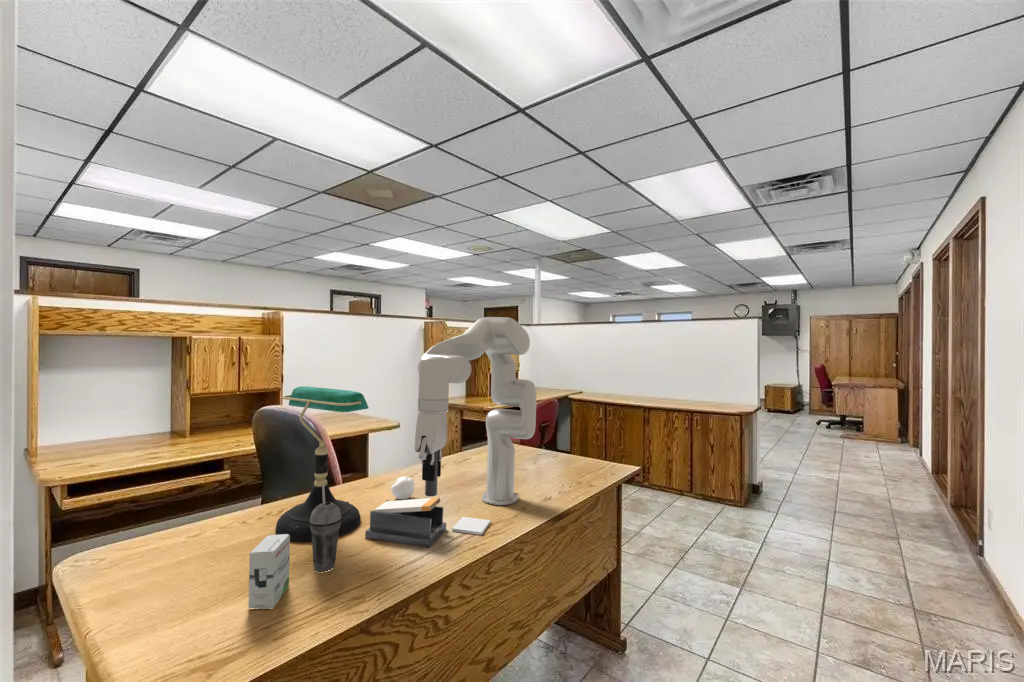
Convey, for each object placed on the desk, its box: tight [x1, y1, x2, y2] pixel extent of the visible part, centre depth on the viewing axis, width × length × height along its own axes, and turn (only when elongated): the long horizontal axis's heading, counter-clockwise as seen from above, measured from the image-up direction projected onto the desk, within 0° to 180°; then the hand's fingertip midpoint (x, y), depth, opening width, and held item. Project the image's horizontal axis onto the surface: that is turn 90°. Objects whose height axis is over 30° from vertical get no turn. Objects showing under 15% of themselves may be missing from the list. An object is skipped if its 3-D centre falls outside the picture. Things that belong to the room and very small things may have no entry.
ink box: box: [248, 534, 291, 609], centre depth 94 cm, size 9×5×12 cm, turn 5°
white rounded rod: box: [424, 450, 438, 497], centre depth 113 cm, size 3×3×12 cm
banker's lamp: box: [274, 385, 369, 543], centre depth 132 cm, size 26×23×40 cm
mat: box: [451, 516, 491, 536], centre depth 133 cm, size 9×9×1 cm
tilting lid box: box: [364, 499, 447, 548], centre depth 127 cm, size 19×12×7 cm, turn 77°
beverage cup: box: [309, 486, 342, 573], centre depth 107 cm, size 7×7×20 cm
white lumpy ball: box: [390, 476, 415, 500], centre depth 155 cm, size 8×8×8 cm
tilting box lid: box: [373, 497, 441, 513], centre depth 127 cm, size 17×7×1 cm, turn 77°
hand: (431, 477), depth 113 cm, fingers closed on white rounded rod, 3 cm apart
